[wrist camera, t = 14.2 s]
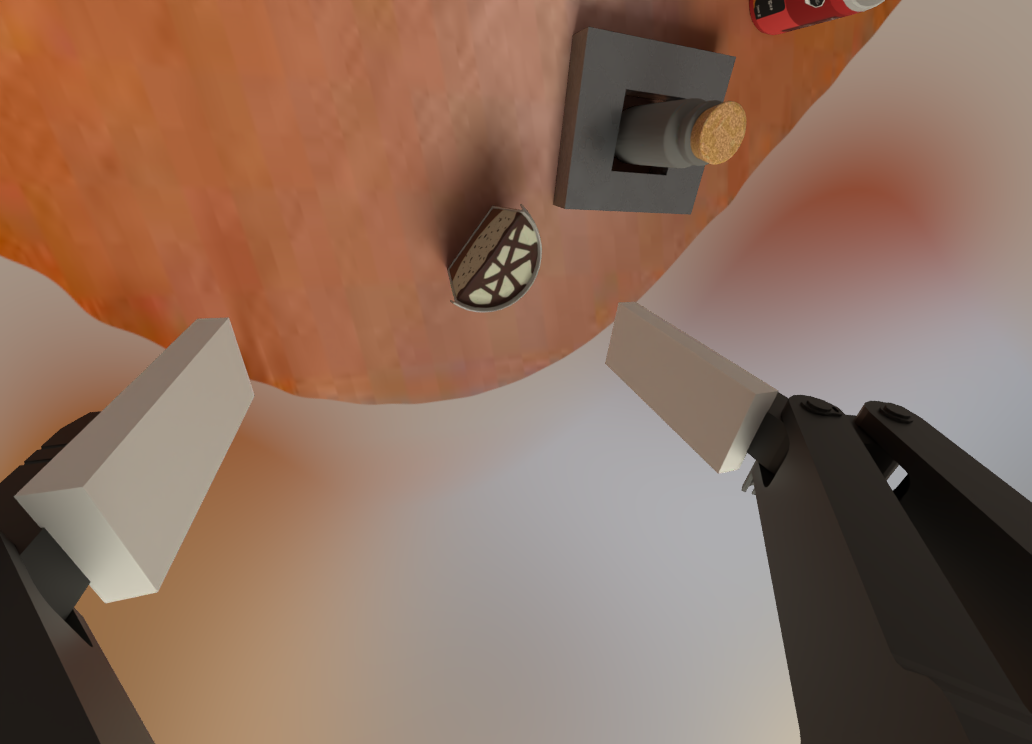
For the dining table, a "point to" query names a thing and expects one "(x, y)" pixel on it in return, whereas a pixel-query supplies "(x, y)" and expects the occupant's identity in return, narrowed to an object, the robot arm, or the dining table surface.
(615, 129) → the plate
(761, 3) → the canned food
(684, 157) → the bottle
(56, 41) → the dining table surface
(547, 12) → the dining table surface
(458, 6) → the dining table surface
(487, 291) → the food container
